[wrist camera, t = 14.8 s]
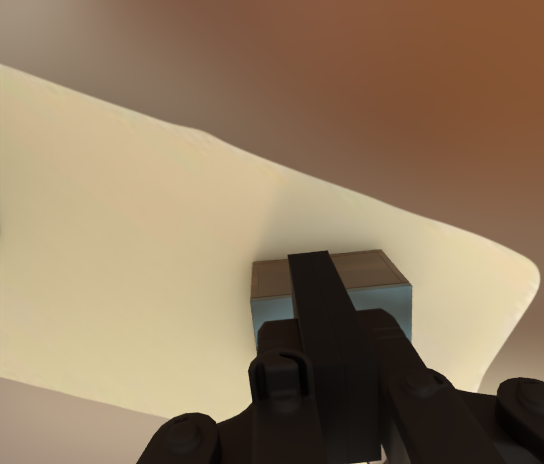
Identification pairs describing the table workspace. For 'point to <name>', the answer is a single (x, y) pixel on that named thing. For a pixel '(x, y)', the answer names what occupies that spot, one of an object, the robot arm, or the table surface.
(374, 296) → the lid
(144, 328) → the table surface
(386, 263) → the chest
